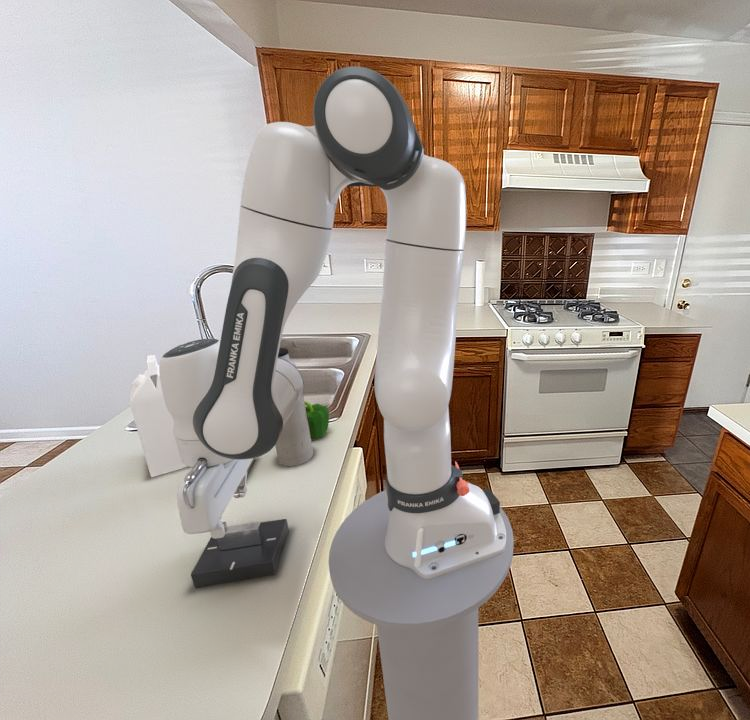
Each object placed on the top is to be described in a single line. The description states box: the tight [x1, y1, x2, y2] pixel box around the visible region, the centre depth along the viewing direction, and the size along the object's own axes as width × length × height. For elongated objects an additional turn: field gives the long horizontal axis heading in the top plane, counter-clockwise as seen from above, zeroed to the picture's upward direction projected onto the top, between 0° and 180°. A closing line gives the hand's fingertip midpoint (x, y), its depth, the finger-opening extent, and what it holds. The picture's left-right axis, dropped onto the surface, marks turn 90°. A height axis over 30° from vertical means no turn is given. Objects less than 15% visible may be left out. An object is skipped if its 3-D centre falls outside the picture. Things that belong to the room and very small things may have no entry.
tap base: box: [190, 518, 290, 589], centre depth 69 cm, size 12×11×3 cm
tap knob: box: [216, 521, 264, 550], centre depth 68 cm, size 6×2×4 cm, turn 102°
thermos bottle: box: [274, 347, 314, 467], centre depth 93 cm, size 8×8×28 cm
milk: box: [129, 354, 189, 478], centre depth 94 cm, size 12×12×26 cm
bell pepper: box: [305, 401, 330, 441], centre depth 106 cm, size 8×8×10 cm
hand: (231, 513), depth 66 cm, fingers open, 8 cm apart
